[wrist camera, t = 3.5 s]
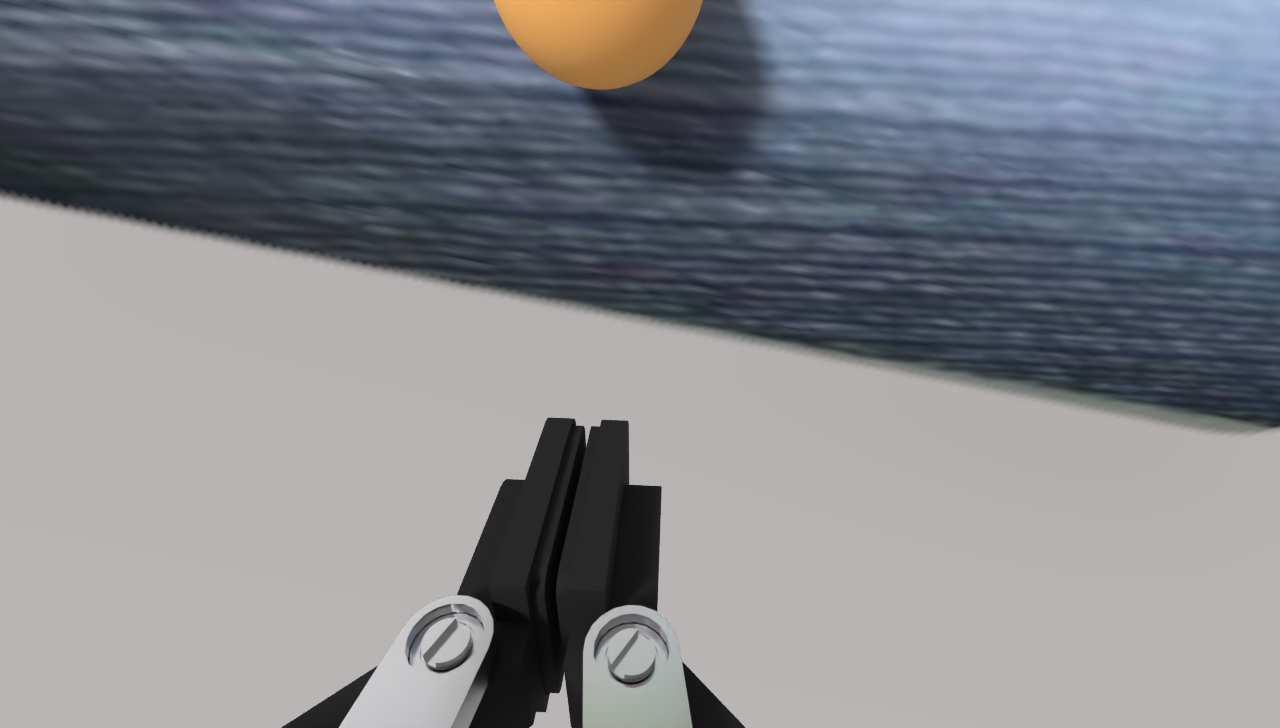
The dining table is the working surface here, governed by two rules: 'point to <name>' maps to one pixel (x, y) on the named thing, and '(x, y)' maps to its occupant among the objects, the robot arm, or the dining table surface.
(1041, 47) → the dining table surface
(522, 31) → the ball
